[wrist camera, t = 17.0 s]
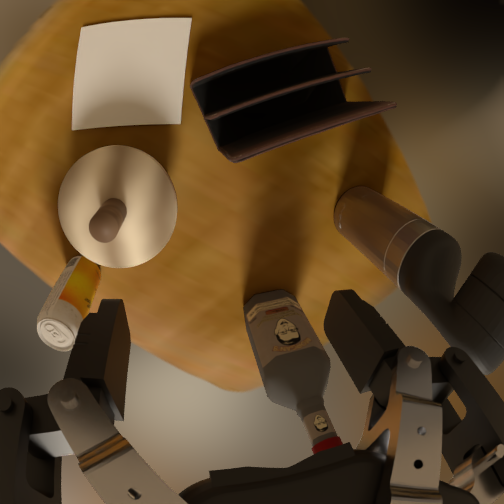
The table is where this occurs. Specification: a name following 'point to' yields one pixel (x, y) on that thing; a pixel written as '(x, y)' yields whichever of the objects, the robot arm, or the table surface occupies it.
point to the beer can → (68, 303)
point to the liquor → (291, 362)
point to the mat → (130, 73)
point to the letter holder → (277, 100)
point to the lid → (117, 206)
